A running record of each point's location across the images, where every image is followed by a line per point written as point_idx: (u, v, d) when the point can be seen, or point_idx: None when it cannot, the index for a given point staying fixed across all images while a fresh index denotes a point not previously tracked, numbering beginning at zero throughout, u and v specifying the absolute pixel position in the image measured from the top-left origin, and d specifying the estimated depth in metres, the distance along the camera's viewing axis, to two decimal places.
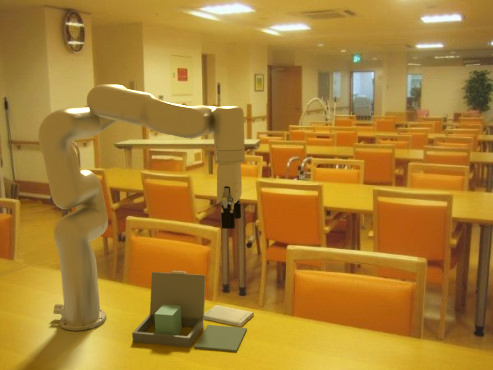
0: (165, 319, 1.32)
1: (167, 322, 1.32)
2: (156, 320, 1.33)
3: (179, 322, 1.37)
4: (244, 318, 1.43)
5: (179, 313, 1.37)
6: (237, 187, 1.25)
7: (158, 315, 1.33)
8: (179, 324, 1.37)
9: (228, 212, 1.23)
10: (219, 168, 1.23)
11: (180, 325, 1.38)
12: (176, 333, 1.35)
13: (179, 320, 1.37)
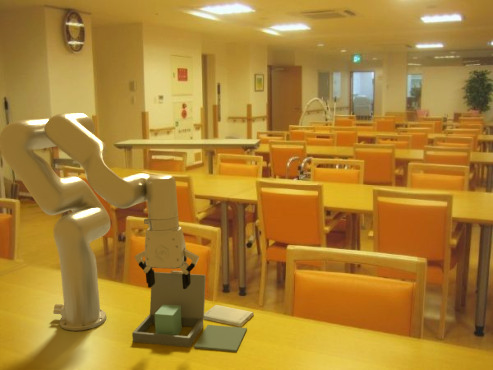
0: (165, 319, 1.32)
1: (167, 322, 1.32)
2: (156, 320, 1.33)
3: (179, 322, 1.37)
4: (244, 318, 1.43)
5: (179, 313, 1.37)
6: None
7: (158, 315, 1.33)
8: (179, 324, 1.37)
9: None
10: (178, 234, 1.28)
11: (180, 325, 1.38)
12: (176, 333, 1.35)
13: (179, 320, 1.37)
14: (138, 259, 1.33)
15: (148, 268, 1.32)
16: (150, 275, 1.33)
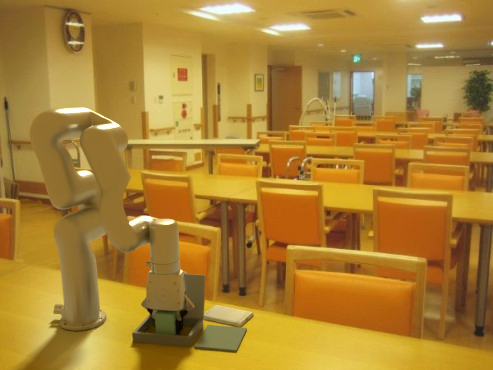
0: (165, 319, 1.32)
1: (167, 322, 1.32)
2: (156, 320, 1.33)
3: None
4: (244, 318, 1.43)
5: None
6: None
7: (158, 315, 1.33)
8: None
9: None
10: (179, 278, 1.31)
11: None
12: None
13: None
14: (145, 305, 1.36)
15: None
16: None
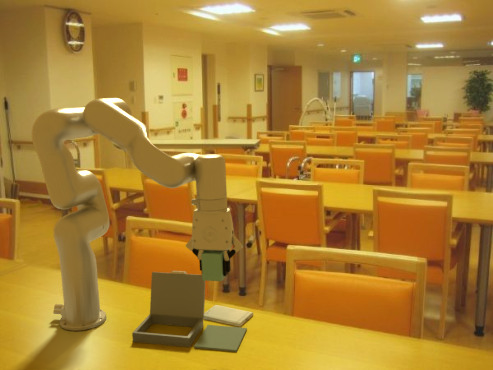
0: (212, 259, 1.26)
1: (214, 262, 1.26)
2: (203, 260, 1.27)
3: None
4: (243, 318, 1.42)
5: None
6: None
7: (205, 255, 1.27)
8: None
9: None
10: (227, 215, 1.25)
11: None
12: None
13: None
14: (190, 247, 1.30)
15: None
16: None
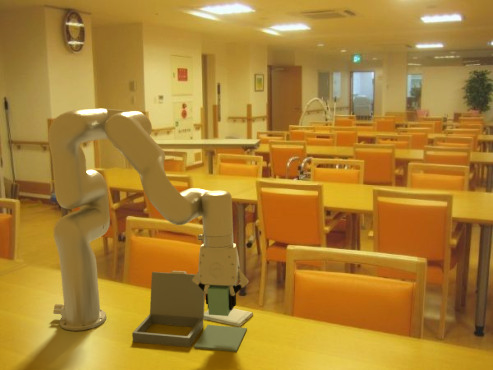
0: (218, 294, 1.28)
1: (220, 297, 1.28)
2: (209, 295, 1.28)
3: None
4: (243, 318, 1.42)
5: None
6: None
7: (211, 290, 1.28)
8: None
9: None
10: (233, 251, 1.26)
11: None
12: None
13: None
14: (196, 281, 1.31)
15: None
16: None
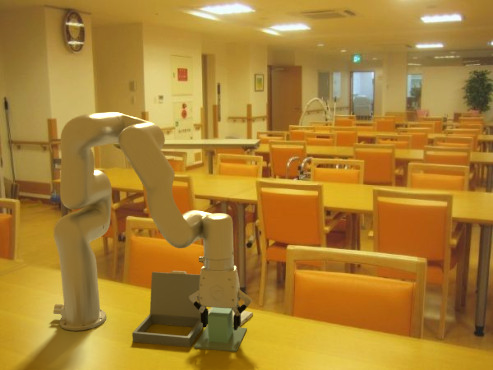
0: (219, 321, 1.29)
1: (220, 324, 1.29)
2: (209, 322, 1.30)
3: (231, 324, 1.33)
4: (243, 318, 1.42)
5: (231, 315, 1.34)
6: None
7: (211, 317, 1.29)
8: (231, 326, 1.34)
9: None
10: (234, 274, 1.27)
11: (232, 327, 1.34)
12: (229, 336, 1.31)
13: (231, 322, 1.34)
14: (193, 299, 1.32)
15: (204, 308, 1.31)
16: (205, 315, 1.32)
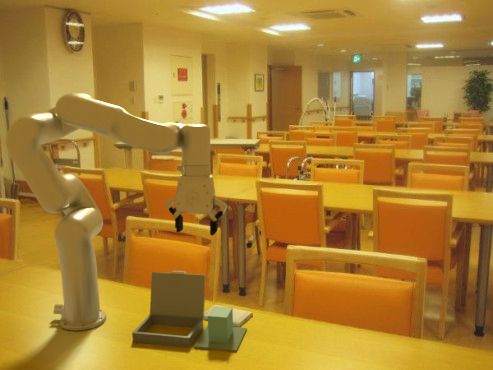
0: (219, 321, 1.29)
1: (220, 324, 1.29)
2: (209, 322, 1.30)
3: (231, 324, 1.33)
4: (243, 318, 1.42)
5: (231, 315, 1.34)
6: None
7: (211, 317, 1.29)
8: (231, 326, 1.34)
9: (218, 218, 1.37)
10: (209, 181, 1.33)
11: (232, 327, 1.34)
12: (229, 336, 1.31)
13: (231, 322, 1.34)
14: (169, 204, 1.39)
15: (178, 213, 1.38)
16: (179, 220, 1.38)
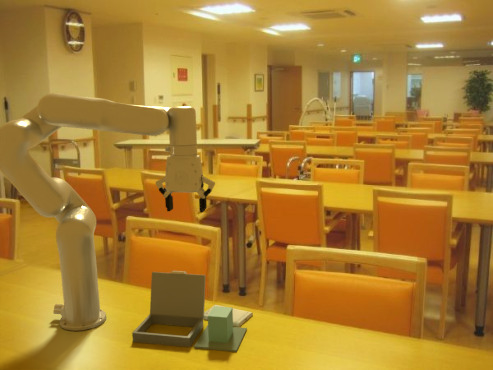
0: (219, 321, 1.29)
1: (220, 324, 1.29)
2: (209, 322, 1.30)
3: (231, 324, 1.33)
4: (242, 318, 1.42)
5: (231, 315, 1.34)
6: None
7: (211, 317, 1.29)
8: (231, 326, 1.34)
9: (206, 196, 1.43)
10: (197, 160, 1.40)
11: (232, 327, 1.34)
12: (229, 336, 1.31)
13: (231, 322, 1.34)
14: (158, 185, 1.45)
15: (168, 193, 1.44)
16: (169, 200, 1.44)
